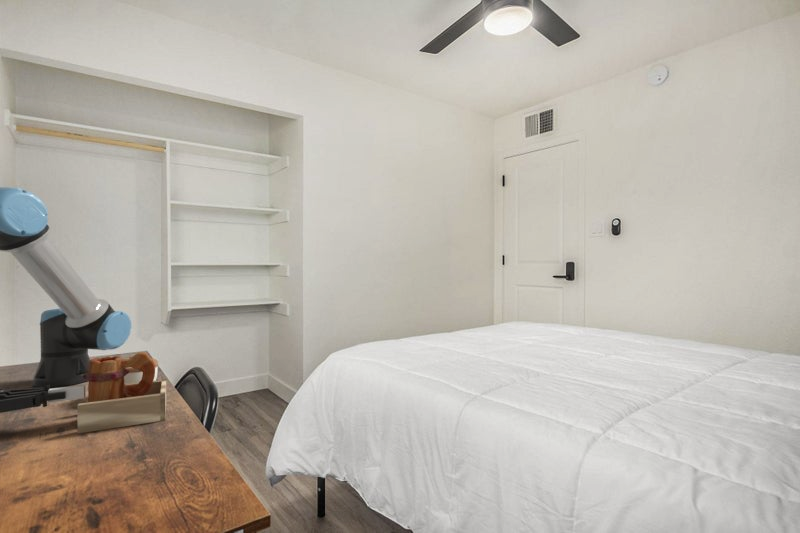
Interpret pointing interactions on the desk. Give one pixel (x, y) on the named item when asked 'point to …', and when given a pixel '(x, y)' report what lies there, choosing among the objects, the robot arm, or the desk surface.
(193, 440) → the desk surface
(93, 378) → the mug
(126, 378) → the lidded bowl
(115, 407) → the wooden u-shaped frame
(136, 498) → the desk surface
